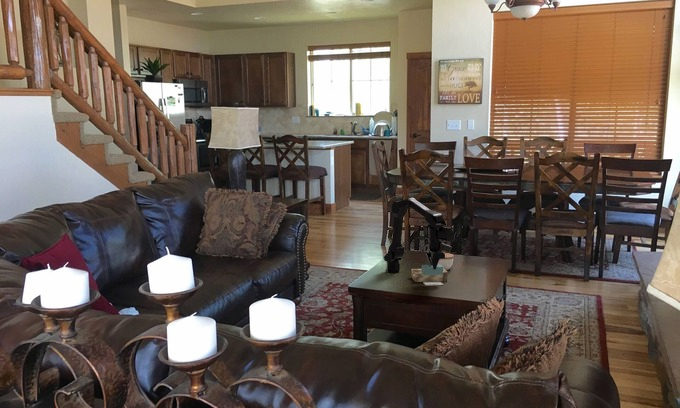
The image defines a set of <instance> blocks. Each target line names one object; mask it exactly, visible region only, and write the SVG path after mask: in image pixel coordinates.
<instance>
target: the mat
mask: <svg viewBox="0 0 680 408" xmlns="http://www.w3.org/2000/svg"><path fill="white" fill-rule="evenodd" d="M422 283H423V285H424V286H427V287H428V286H432V287H433V286H443V285H444V283H443V282H442V281H431V282H422Z"/></svg>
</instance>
